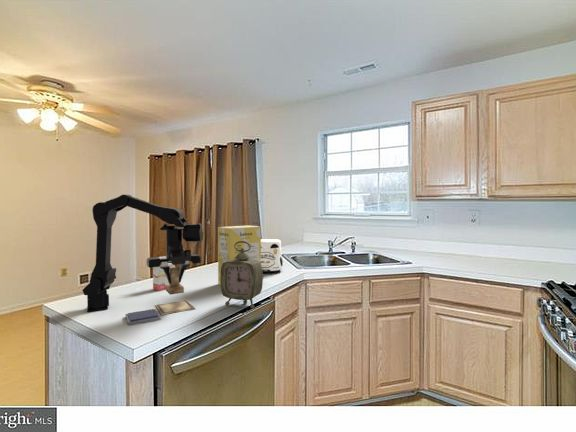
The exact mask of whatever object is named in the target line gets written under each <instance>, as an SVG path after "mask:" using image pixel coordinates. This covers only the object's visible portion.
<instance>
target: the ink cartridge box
mask: <svg viewBox="0 0 576 432" xmlns="http://www.w3.org/2000/svg"><path fill="white" fill-rule="evenodd" d="M158 257H159V258H160V259H166V255H163V256H158ZM168 266H169V267H170V268H173V267H176V265H172V263H168ZM168 284H169V282H168V280H167V277H166V274H165V272H164V270H163V269H161V268H160V267H152V289H153V290H155V291H158V292H160V291H166V285H168Z"/></svg>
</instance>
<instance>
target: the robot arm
mask: <svg viewBox="0 0 576 432" xmlns="http://www.w3.org/2000/svg"><path fill="white" fill-rule="evenodd" d="M126 207H128V208H132V209H135V210H138V211H140V212H143V213H147V214H149V215H153V216H155V217H157V218H158V219H159V220H160V221H163V222H165V223H164V224H163V226H161V227H160V229H159V230H160V231H165V247H166V248H165V249H166V250H165V254H166V255H165V256H166V259H162V258H161V259H160V258H159V257H160V256H154V257H148V258H147V259H146V266H147V267H148V268H153V267H160V268H161V269H163V270H164V272H165V274H166V277H167V280H168V282H169V284H171V278H170V267H169V266H168V263H172V265H175V266H176V265H178V267H179V283H180V284H181V282H182V280H183V277H184V273H185V271H186V270H187V268H188V267H190V266H191V264H190V262H191V263H192V264H200V263H202V257H201V255H199V254H198V253H197V254H196V253H192V251H191V249H185V250H184V245H183V241H185V242H186V243H202V242H203V240H204V232H203V227H202V223H189V222H188V220H187V219H186V218H185V216H184V212H183V211H182V209H180V208H175V207H171V206H169V207H168V206H161V205H158V204H155V203H152V202H150V201H146V200H144V199H140V198H138V197H134V196H133V195H132V194H131V195H130V194H121V195H120V196H117V197H115V198H114V197H113V198H111V199H109V200H106V201H105V202H97V203H95V204H94V205H93V207H92V218H93V220H94V223H95V225H96V244H95V245H96V247H95V248H96V249H95V265H94V267H93V270H92V271H91V274H90V278H89V283H88V284H87V285H86V286H85V287H84V288H83V289H82V294H83V295H84V296H87V297H86V299H87V301H86V303H87V304H86V305H87V307H86V313H87V312H89V313H90V312H96V311H103V310H108V307H109V306H110V295H109V293H108V291H107V290H109V289H110V287H111V285H112V284H114V282H115V280H116V279H117V276H116V273H117V267H113V266H112V264H111V252H112V232H113V231H112V230H113V229H112V228H113V225H114V223H115V220H116V219H117V214H118V212H120V211H122V210H124V209H125V208H126Z"/></svg>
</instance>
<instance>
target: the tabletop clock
mask: <svg viewBox="0 0 576 432" xmlns="http://www.w3.org/2000/svg"><path fill="white" fill-rule="evenodd" d="M238 243H246V244H248V245H249V247H250V248H251V246H250V244H249V243H248V242H245V241H238V242H236V243H235V245H234V248H235V249H236V247H235V246H236V244H238ZM250 248H249V249H248V250H244V249H243V248H241V250H238V249H236V250H237V251H239V252H241V253H239V254H237V256H236V259H233V260H230V261H227V262H225V263H223V264H222V267H221V278H220V280H221V285H220V288H221V294H222V296H223V297H225V298H227V299H228V300H227V301H225V303H224V305H225V306H228V307H229V305H230V301H231V300H237V301H238V300H239V301H242V303H243V304H247V303H248V301H249V302H250V309H252V310H253V309H255V308H256V307H255V304H253V299H254V298H256V297H257V296H259V295H260V294H261V292H262V290H263V283H264V275H263V274H264V272H263V271H262V265H261V263H260V262H259V261H258V260H254V259H249V256H248V255H247V254H246V253H244V252H247V251H249V250H250Z"/></svg>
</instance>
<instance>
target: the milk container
mask: <svg viewBox="0 0 576 432" xmlns="http://www.w3.org/2000/svg"><path fill="white" fill-rule="evenodd" d="M283 262H284V261H283V258H282V241H281V240H280V239H275V238H272V239H271V238H270V239H269V238H263V239H262V238H261V265H262V271H263V273H276V272H280V271H281V270H282V269H283V266H284V265H283V264H284V263H283Z"/></svg>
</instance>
